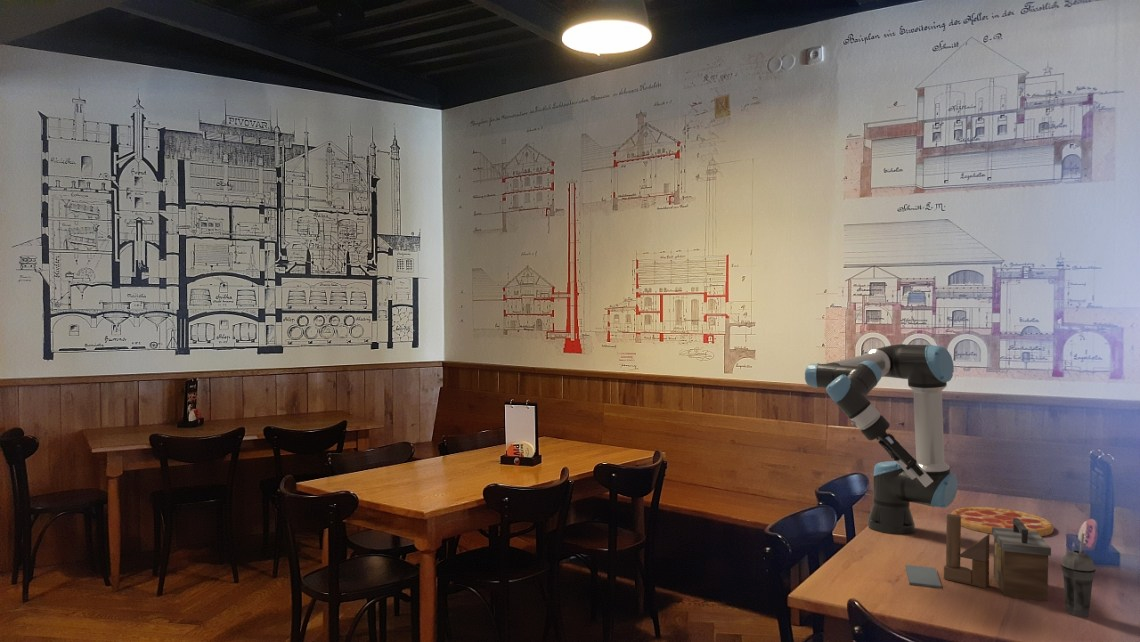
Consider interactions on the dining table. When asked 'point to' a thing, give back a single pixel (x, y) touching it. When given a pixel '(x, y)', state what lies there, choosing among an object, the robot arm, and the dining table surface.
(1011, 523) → the pizza
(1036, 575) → the toolbox
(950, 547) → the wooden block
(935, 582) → the mat
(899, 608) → the dining table surface
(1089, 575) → the beverage cup
